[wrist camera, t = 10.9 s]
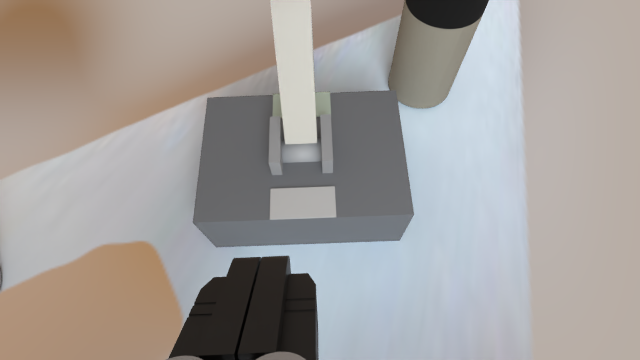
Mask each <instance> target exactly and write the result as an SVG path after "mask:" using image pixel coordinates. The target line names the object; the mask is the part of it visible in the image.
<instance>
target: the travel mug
mask: <svg viewBox="0 0 640 360" xmlns="http://www.w3.org/2000/svg"><path fill="white" fill-rule="evenodd" d="M488 1H489V0H405V2H404V7H403V12H402V17H401V21H400V26H399V31H398V36H397V41H396V46H395V51H394V56H393V61H392V65H391V70H390V75H389V81H388V83H389V88H390V91H392V90H396V94H397V100H398V101H400V102H401V103H403V104H405V105H407V106H410V107H413V108H430V107H434V106H436V105H438V104H440V103H441V102H443V101H444V100H445V98H446V97H447V95H448V93H449V91H450V89H451V86H452V84H453V82H454V79H455V77H456V75H457V73H458V70H459V68H460V66H461V63H462V61H463V59H464V56H465V54H466V52H467V50H468V47H469V45H470V43H471V40H472V38H473V36H474V33H475V31H476V29H477V27H478V24H479V22H480V20H481V17H482V15H483V13H484V10H485V8H486V6H487V4H488Z"/></svg>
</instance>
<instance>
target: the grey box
mask: <svg viewBox="0 0 640 360" xmlns="http://www.w3.org/2000/svg"><path fill="white" fill-rule="evenodd" d="M315 102H316V124H317V143H308V144H285V138H284V129H283V119H282V110H281V100H280V94H273V95H265V96H240V97H214V98H208V99H207V108H206V116H205V124H204V133H203V141H202V150H201V158H200V167H199V175H198V184H197V192H196V201H195V209H194V218H193V223H194V224H195V225H196V226H197V228H198V229H199V230H200V231H201V232H202V233H203V234H204V235H205V236H206V237H207V238H208V239H209V240H210V241H211V242H212V243H213V244H214V245H215V246H216V247H234V246H261V245H289V244H316V243H344V242H371V241H399V240H400V239H401V237H402V235H403V233H404V232H405V230H406V228H407V226H408V224H409V223H410V221H411V219H412V217H413V215H414V212H413V205H412V198H411V191H410V184H409V177H408V170H407V163H406V156H405V149H404V142H403V135H402V129H401V122H400V115H399V108H398V101H397V94H396V90H392V91H366V92H341V93H330V92H315Z"/></svg>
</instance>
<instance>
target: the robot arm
mask: <svg viewBox="0 0 640 360" xmlns="http://www.w3.org/2000/svg"><path fill="white" fill-rule="evenodd" d="M0 286H1V270H0ZM167 360H318V319H317V300H316V284H315V283H314V281H313V280H312V278H311V277H310V276H309V274H308V273H304V274H291V269H290V259H289V256H272V257H262V258H261V257H250V258H234V259H233V261H232V263H231V266H230V268H229V271H228V274H227V276H226V277H214V278H213V279H212V280H210V281H209V282H208V283H207V284H206V285H205V286H204V287H203V288H202V289H201V290H200V292H199V294H198V296H197V298H196V301H195V303H194V306H193V307H192V309H191V311H190V313H189V317H188V318H187V320H186V322H185V324H184V326H183V328H182V330H181V333H180V335H179V337H178V339H177V341H176V343H175V345H174V348H173V350H172V352H171V354H170V356H169V358H168V359H167Z"/></svg>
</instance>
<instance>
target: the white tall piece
mask: <svg viewBox="0 0 640 360" xmlns="http://www.w3.org/2000/svg"><path fill="white" fill-rule="evenodd" d="M270 4H271V14H272V24H273V33H274V42H275V52H276V62H277V71H278V81H279V91H280V100H281V110H282V119H283V129H284V138H285V144H308V143H317V124H316V102H315V80H314V58H313V36H312V14H311V0H270Z"/></svg>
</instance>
